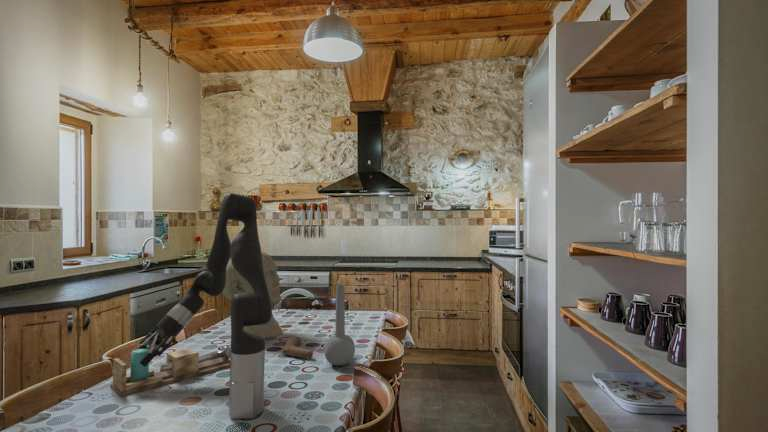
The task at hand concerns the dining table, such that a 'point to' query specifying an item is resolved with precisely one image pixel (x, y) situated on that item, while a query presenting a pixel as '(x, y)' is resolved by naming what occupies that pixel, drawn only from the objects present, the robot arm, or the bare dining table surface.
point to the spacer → (138, 365)
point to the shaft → (204, 358)
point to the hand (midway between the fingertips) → (137, 361)
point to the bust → (241, 285)
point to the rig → (182, 369)
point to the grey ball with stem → (339, 335)
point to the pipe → (296, 348)
